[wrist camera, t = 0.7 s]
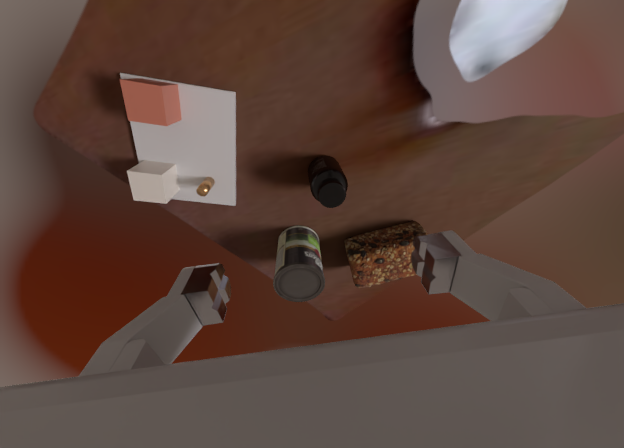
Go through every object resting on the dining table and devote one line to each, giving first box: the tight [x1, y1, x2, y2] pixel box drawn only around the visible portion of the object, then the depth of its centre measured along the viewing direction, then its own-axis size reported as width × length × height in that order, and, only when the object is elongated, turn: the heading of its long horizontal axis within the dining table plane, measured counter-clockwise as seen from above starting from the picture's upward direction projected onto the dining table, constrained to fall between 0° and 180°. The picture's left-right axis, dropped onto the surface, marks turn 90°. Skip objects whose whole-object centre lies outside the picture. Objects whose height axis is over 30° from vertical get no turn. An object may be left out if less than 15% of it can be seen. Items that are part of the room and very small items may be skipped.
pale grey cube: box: [127, 160, 179, 204], centre depth 47 cm, size 6×6×6 cm
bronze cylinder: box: [196, 177, 215, 196], centre depth 48 cm, size 2×2×5 cm
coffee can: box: [273, 226, 325, 302], centre depth 55 cm, size 10×10×14 cm
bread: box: [344, 221, 428, 288], centre depth 59 cm, size 19×11×10 cm, turn 104°
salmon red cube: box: [120, 78, 182, 126], centre depth 40 cm, size 6×6×6 cm
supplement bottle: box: [308, 156, 348, 208], centre depth 47 cm, size 7×7×12 cm
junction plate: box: [120, 73, 236, 206], centre depth 47 cm, size 22×18×1 cm
